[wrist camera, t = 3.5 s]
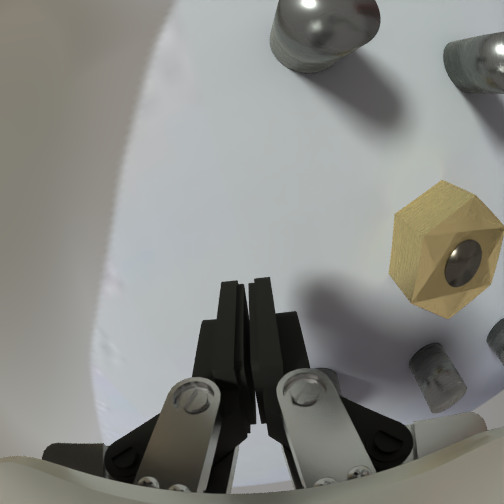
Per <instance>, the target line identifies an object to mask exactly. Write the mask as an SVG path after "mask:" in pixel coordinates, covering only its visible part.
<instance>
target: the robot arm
mask: <svg viewBox="0 0 504 504" xmlns="http://www.w3.org/2000/svg"><path fill="white" fill-rule="evenodd" d="M254 282H255V283H249V314H248V308H247V301H246V294H245V288H244V284H238V281H227V282H222V283H221V289H220V297H219V305H218V313H217V319H214V320H203V321H202V324H201V329H200V334H199V340H198V345H197V351H196V357H195V363H194V368H193V374H192V377H191V378H188V379H184V380H182V381H180V382H178V383H177V384H176V385H175V386H173V387H172V388H171V390H170V392H169V393H168V395H167V398H166V400H165V403H164V405H163V408H162V410H161V413H159V414H158V415H156V416H155V417H153V418H152V419H150V420H149V421H147V422H146V423H144V424H142V425H141V426H139V427H138V428H136V429H135V430H133V431H131V432H130V433H128V434H127V435H125V436H123V437H122V438H120V439H118V440H117V441H115V442H114V443H113V444H111V445H110V446H106V445H105V444H104V443H100V444H99V443H97V444H77V443H74V444H72V443H54V444H51V445H49V446H48V447H47V448H46V449H45V450H44V453H43V456H42V460H41V459H37V458H33V457H26V456H12V457H11V456H10V457H3V458H0V504H504V427H500V428H495V429H491V430H488V431H487V427H486V423H485V421H484V419H483V418H482V417H481V416H480V415H478V414H476V413H474V412H465V413H461V414H456V415H451V416H446V417H440V418H434V419H428V420H421V421H414V422H413V424H410V425H403V424H402V423H400V422H398V421H395V420H393V419H391V418H388V417H386V416H383V415H381V414H379V413H377V412H374V411H372V410H370V409H367V408H365V407H363V406H361V405H359V404H356V403H354V402H352V401H350V400H348V399H346V398H344V397H342V396H340V395H338V393H337V391H336V389H335V387H334V385H333V383H332V381H331V380H330V378H329V377H328V376H327V375H326V374H324V373H323V372H321V371H319V370H316V369H310V365H309V360H308V356H307V352H306V348H305V344H304V340H303V335H302V331H301V327H300V323H299V319H298V315H297V312H296V311H293V312H285V313H276V314H275V308H274V301H273V294H272V288H271V281H270V277H265V278H256V279H254ZM249 320H250V321H249ZM255 392H256V398H257V403H258V408H259V414H260V419H261V424H264V423H267V429H268V435H269V436H270V437H272V438H273V439H275V440H276V441H278V442H279V443H281V447H282V450H283V454H284V457H285V461H286V464H287V467H288V471H289V474H290V477H291V481H292V484H293V487H294V490H290V491H281V492H269V493H253V494H231V489H232V483H233V478H234V473H235V468H236V463H237V457H238V452H239V444H240V443H241V442H242V441H244V440H245V439H246V438H247V433H250V425H251V424H256V402H255Z"/></svg>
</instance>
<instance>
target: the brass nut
mask: <svg viewBox="0 0 504 504" xmlns="http://www.w3.org/2000/svg"><path fill="white" fill-rule="evenodd" d="M503 236H504V225H503V224H502V223H501V222H500V221H499V219H498V218H497V217H496V216H495V215H494V214H493V213H492V212H491V211H490V210H489V208H488V207H487V206H486V205H485V204H484V203H483V202H482V201H481V200H480V199H479V198H478V197H477V196H476V195H474V194H472V193H470V192H468V191H466V190H464V189H461V188H459V187H457V186H455V185H453V184H450V183H448V182H446V181H443V180H441V181H440V182H438V183H437V184H436V185H434V186H433V187H432V188H430V189H429V190H428V191H426V192H425V193H423V194H422V195H421V196H419V197H418V198H416V199H415V200H414V201H412V202H411V203H409V204H408V205H407V206H405V207H404V208H402V209H401V210H400V211H398V212H397V213H395V217H394V230H393V241H392V251H391V259H390V267H389V275H390V276H391V277H392V279H393V280H394V281H395V283H396V284H397V285H398V287H399V288H400V289H401V290H402V292H403V293H404V294H405V296H406V297H407V298H408V300H409V301H410V303H411V304H414V305H416V306H418V307H421V308H423V309H425V310H428V311H430V312H432V313H435V314H437V315H439V316H441V317H444V318H446V319H449V318H450V317H452V316H453V315H454V314H456V313H457V312H458V311H460V310H461V309H462V308H463V307H465V306H466V305H467V304H468V303H470V302H471V301H472V300H473V299H474V298H476V297H477V296H478V295H479V294H480V293H481V292H483V291H484V290H485V289H486V288H487V287H488V286H489V285H491V282H492V279H493V276H494V272H495V269H496V265H497V261H498V257H499V253H500V249H501V245H502V240H503Z"/></svg>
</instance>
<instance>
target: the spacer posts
mask: <svg viewBox="0 0 504 504" xmlns="http://www.w3.org/2000/svg"><path fill="white" fill-rule="evenodd" d="M379 27H380V12H379V9H378V6H377V4H376V1H375V0H279V2H278V6H277V10H276V14H275V18H274V22H273V26H272V30H271V34H270V46H271V50H272V52H273V54H274V56H275V57H276V58H277V59H278V61H279V62H281V63H282V64H283V65H284V66H286V67H287V68H289V69H291V70H294V71H297V72H301V73H316V72H320V71H323V70H325V69H326V68H328V67H330V66H331V65H333V64H334V63H336V62H337V61H339V60H340V59H342V58H343V57H345V56H347V55H348V54H350V53H351V52H353V51H355V50H356V49H358V48H359V47H361V46H363V45H364V44H366V43H368V42H369V41H370V40H372V39H373V38H374V36H375V35H376V34H377V32H378V30H379ZM443 59H444V65H445V68H446V71H447V73H448V75H449V77H450V79H451V80H452V81H453V83H454V84H455V85H456V86H457V87H458V88H459V89H461V90H462V91H464V92H468V93H497V94H504V32H500V33H493V34H487V35H482V36H477V37H472V38H467V39H463V40H458V41H454V42H450V43H448V44H447V45H446V47H445V49H444V54H443ZM487 343H488V344H489V346H490V347H491V348H492V350H493V351H494V352H495V354H496V355H497V357H498V358H499V359H500V361H501V362H502V363H503V365H504V319H502V320H500V321H499V322H498V323H497V324H496V325H495V326H494V327H493V329H492V330H491V331H490V333H489V335H488V338H487ZM410 369H411V371H412V373H413V375H414V377H415V379H416V381H417V383H418V385H419V387H420V389H421V391H422V393H423V395H424V397H425V399H426V401H427V403H428V406H429V408H430V410H431V412H432V413H439V412H442V411H444V410H446V409H448V408H449V407H451V406H452V405H454V404H455V403H456V402H457V401H458V400H460V399H461V397H462V396H463V395H464V394H465V392H466V390H467V387H466V385H465V383H464V382H463V380H462V378H461V377H460V375H459V373H458V372H457V370H456V369H455V367H454V365H453V364H452V362H451V361H450V359H449V357H448V356H447V354H446V353H445V351H444V350H443V348H442V347H441V345H440V344H438V343H433V344H429V345H427V346H425V347H423V348H422V349H421V350H419V351H418V352H417V353H416V354H415V355H414V356H413V358H412V359H411V361H410ZM316 370H319V371H321V372H323V373H324V374H326V375H327V376H328V377H329V378H330V380H331V381H332V383H333V385H334V387H335V389H336V391H337V393H338V395H340V396H342V394H341V390H340V387H339V383H338V380H337V376H336V374H335V372H334V371H332V370H330V369H326V368H317V369H316Z"/></svg>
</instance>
